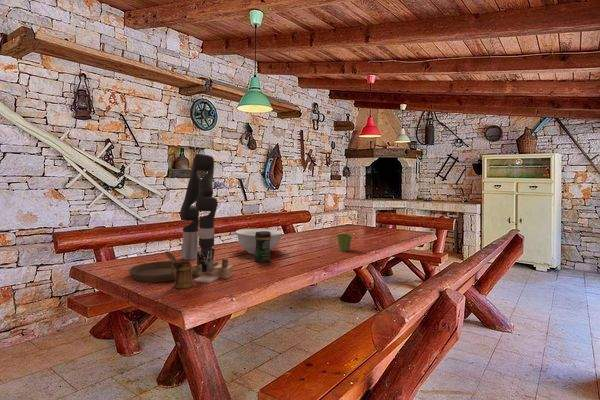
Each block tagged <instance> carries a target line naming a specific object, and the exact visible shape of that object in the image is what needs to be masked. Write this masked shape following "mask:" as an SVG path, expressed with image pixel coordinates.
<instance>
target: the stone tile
mask: <svg viewBox="0 0 600 400" xmlns="http://www.w3.org/2000/svg"><path fill="white" fill-rule="evenodd" d="M218 279H219V278H218V277H217V276H206V275H202V276H197V277H196V278H194V279H193V282H198V283H208V284H211V283H213V282H214V281H216V280H218Z"/></svg>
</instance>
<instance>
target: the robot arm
mask: <svg viewBox="0 0 600 400" xmlns="http://www.w3.org/2000/svg"><path fill="white" fill-rule="evenodd" d="M199 172H206V174H205V175H203V177H202V178H201V176H200V174H199ZM214 173H215V158H214V156H212V155H210V154H204V153H203V154H202V153H196V154H195V155H194V157H193V161H192V166H191V171H190V175H189V176H190V177H189V180H188V183H187V188H186V191H185V195H184V200H183V203H182V205H181V207H180V214H179V216H180V219H181V220H182V221H186V222H187V221H191V222H190V223H189V224H187V225H184V226H183V227H182V243H181V250H180V251H181V253H180V254H181V258H180V259H182V260H184V261H190V260H191V261H193V260H197V252H198V251H199V247H200V248H201V249H200V251H201V252H200V253H198V259H199V264H202V272H206V271H207V265H206V264H207V261H214V256H215V252H216V251H215V250H216V249H215V248H213V247H214V246H215V226H214V225H215V215H216V211H217V208H218V203H219V202H218V199H217V198H216V197H214V196H213V195H214V186H213V181H214ZM193 204H195V205H193ZM200 212H209V213H208V214H205V215H201V216H200Z"/></svg>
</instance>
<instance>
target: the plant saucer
mask: <svg viewBox="0 0 600 400" xmlns="http://www.w3.org/2000/svg"><path fill="white" fill-rule="evenodd" d="M176 262H181V261H178V260H176ZM172 263H173V262H172V261H171V260H165V261H164V260H162V261H153V262H146V263H140V264H137V265H134V266H132V267H129V269H128V273H129V274H130V276H131V277H133V278H134V280H136V281H139V282H145V283H146V282H147V283H161V282H170V281H175V279H174V277H173V275H172V273H171V265H172ZM192 266H193V264H191V267H192ZM174 272H175V273H176V268H175V270H174Z"/></svg>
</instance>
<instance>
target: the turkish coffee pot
mask: <svg viewBox="0 0 600 400" xmlns="http://www.w3.org/2000/svg"><path fill="white" fill-rule="evenodd" d="M165 255H166V257H167V259H169V261H172V262H173V263H172V265H171V273H172V275H173V277H174V279H175V280H174V282H173V288H175V289H177V290H179V289H180V290H182V289H190V288H192V287H194V286H195V285H194V280H193V275H192V267H191V265H192V264H191V261H189V260H184V261H180V262H176V261H177V259H176V258H175V256H174V255H173V253H171V252H169V251H168V250H165ZM175 268H176V273H175V272H174V270H175Z"/></svg>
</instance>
